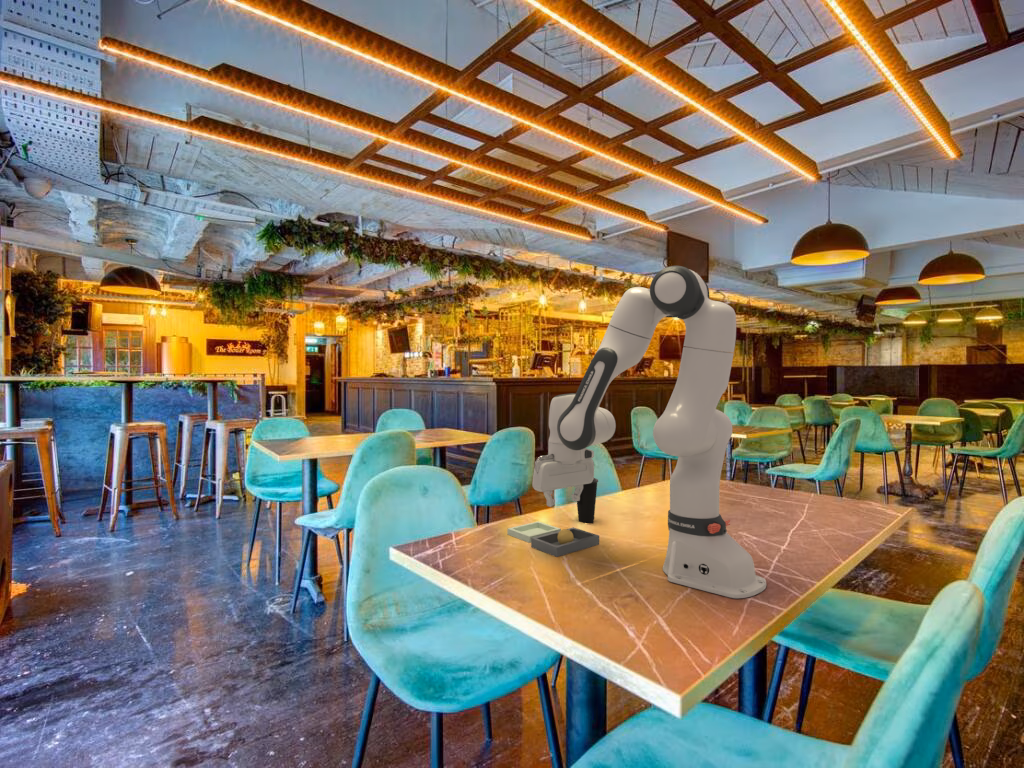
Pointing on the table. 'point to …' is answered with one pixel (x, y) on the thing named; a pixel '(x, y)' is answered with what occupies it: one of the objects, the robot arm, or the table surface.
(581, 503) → the drinking cup
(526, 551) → the table surface
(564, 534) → the ball
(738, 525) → the table surface
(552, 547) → the dish
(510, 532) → the tray
